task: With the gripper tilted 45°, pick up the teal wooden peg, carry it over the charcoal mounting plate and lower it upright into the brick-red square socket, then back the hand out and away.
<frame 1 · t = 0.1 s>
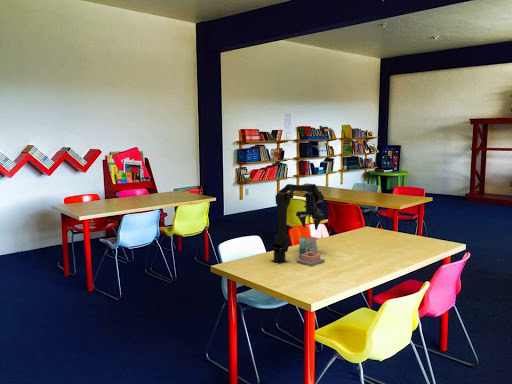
hand: (310, 228, 273), 15 cm above the table, tool pointing down, fingers open, 9 cm apart
peg: (302, 257, 263), on the table
socket plate: (310, 262, 253), on the table
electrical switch: (308, 252, 274), on the table
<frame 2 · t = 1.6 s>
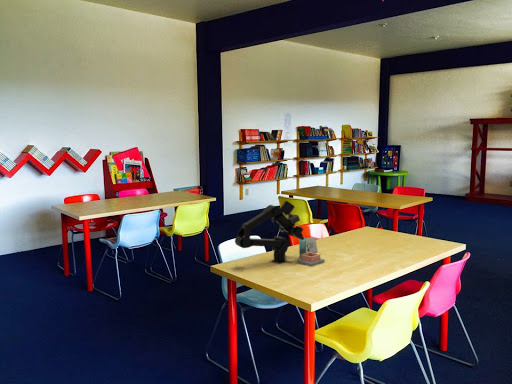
hand: (299, 237, 260), 12 cm above the table, tool tilted 45°, fingers open, 9 cm apart
nothing on the table moved.
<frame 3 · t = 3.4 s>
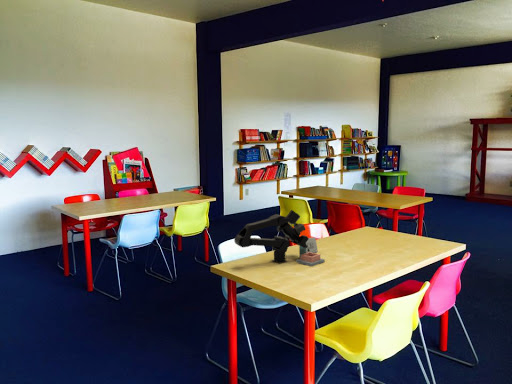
hand: (304, 246, 262), 7 cm above the table, tool tilted 45°, fingers closed on peg, 4 cm apart
peg: (302, 257, 263), on the table, touching gripper
everything else where it was.
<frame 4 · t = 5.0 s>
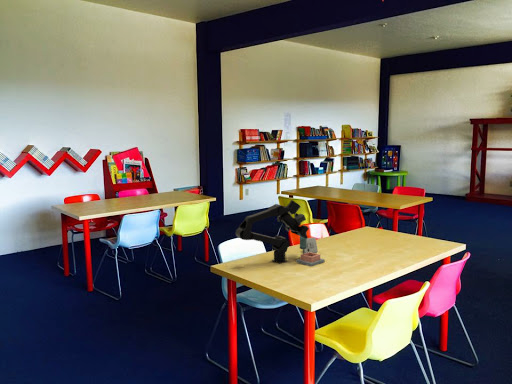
hand: (305, 237, 261), 12 cm above the table, tool tilted 45°, fingers closed on peg, 4 cm apart
peg: (303, 248, 261), point 6 cm above the table, touching gripper
everything else where it was.
when the fingers open (9 cm above the table, at t = 6.8 s): peg drops 1 cm, resting on socket plate.
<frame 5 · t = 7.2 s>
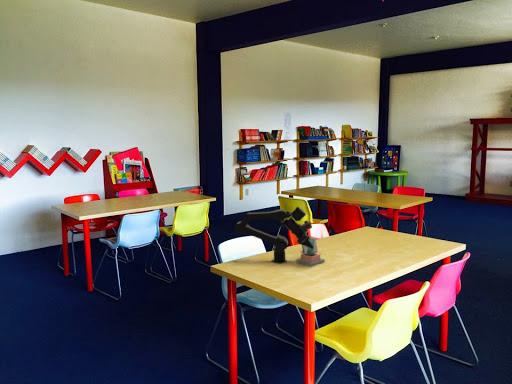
hand: (313, 246, 252), 10 cm above the table, tool tilted 45°, fingers open, 8 cm apart
peg: (310, 259, 253), point 2 cm above the table, touching socket plate
everything else where it was.
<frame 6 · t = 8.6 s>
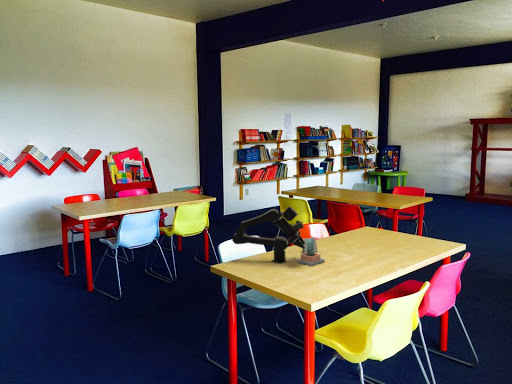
hand: (304, 245, 253), 10 cm above the table, tool tilted 45°, fingers open, 9 cm apart
nothing on the table moved.
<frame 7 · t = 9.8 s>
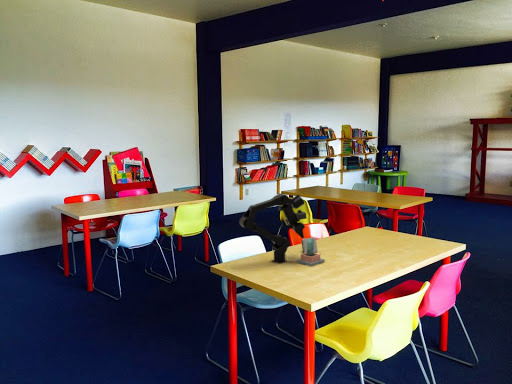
hand: (300, 235, 259), 14 cm above the table, tool tilted 30°, fingers open, 9 cm apart
nothing on the table moved.
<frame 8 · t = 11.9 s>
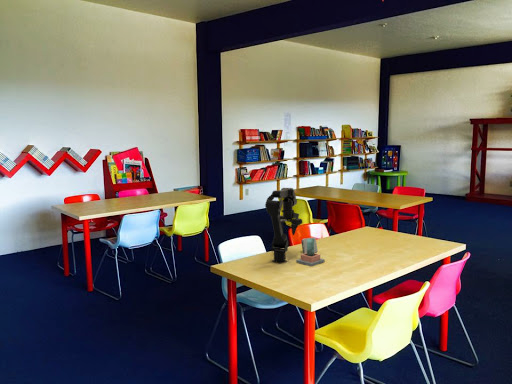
hand: (287, 233, 268), 13 cm above the table, tool pointing down, fingers open, 9 cm apart
nothing on the table moved.
at the end: peg 0.0 cm off-centre on the socket plate, point 1.6 cm above the socket plate's base; peg tilted 2°; the gripper is holding nothing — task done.
